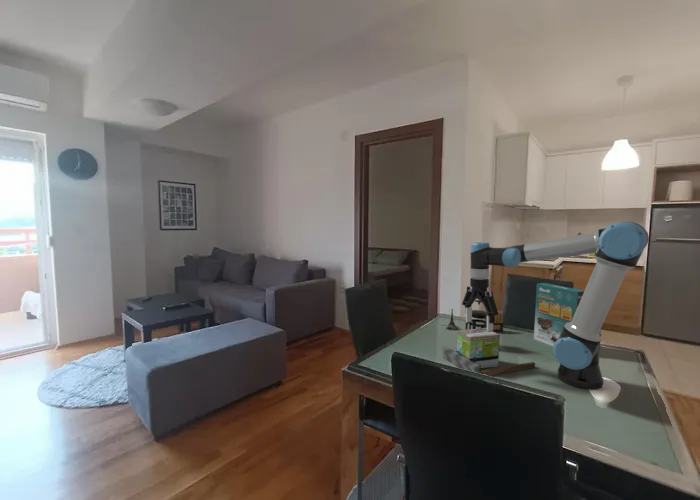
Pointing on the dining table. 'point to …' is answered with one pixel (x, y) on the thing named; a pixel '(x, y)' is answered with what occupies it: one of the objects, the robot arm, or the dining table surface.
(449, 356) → the guide track
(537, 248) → the robot arm
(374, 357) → the dining table surface
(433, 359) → the dining table surface
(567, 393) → the dining table surface
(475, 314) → the french press
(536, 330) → the cake mix box
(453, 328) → the eiffel tower figurine
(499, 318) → the ammunition clip
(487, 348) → the tea box
